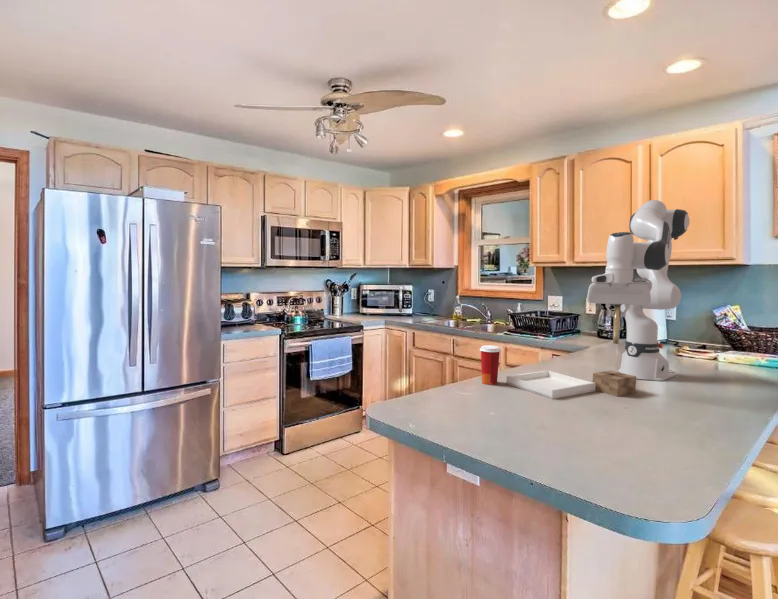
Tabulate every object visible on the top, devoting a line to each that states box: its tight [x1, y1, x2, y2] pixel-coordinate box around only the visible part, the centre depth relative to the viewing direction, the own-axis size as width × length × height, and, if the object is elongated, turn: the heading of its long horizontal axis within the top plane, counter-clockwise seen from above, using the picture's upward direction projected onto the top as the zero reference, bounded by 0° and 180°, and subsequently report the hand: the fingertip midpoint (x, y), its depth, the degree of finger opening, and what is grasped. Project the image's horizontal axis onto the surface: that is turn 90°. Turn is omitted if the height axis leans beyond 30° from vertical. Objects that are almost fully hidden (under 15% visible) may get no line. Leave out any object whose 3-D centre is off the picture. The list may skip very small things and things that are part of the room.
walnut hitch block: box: [592, 370, 637, 397], centre depth 163 cm, size 10×10×6 cm
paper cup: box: [479, 344, 501, 386], centre depth 172 cm, size 8×8×14 cm
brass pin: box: [612, 304, 622, 345], centre depth 161 cm, size 3×3×15 cm
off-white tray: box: [505, 370, 596, 400], centre depth 167 cm, size 22×22×3 cm
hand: (617, 316), depth 161 cm, fingers closed on brass pin, 2 cm apart
